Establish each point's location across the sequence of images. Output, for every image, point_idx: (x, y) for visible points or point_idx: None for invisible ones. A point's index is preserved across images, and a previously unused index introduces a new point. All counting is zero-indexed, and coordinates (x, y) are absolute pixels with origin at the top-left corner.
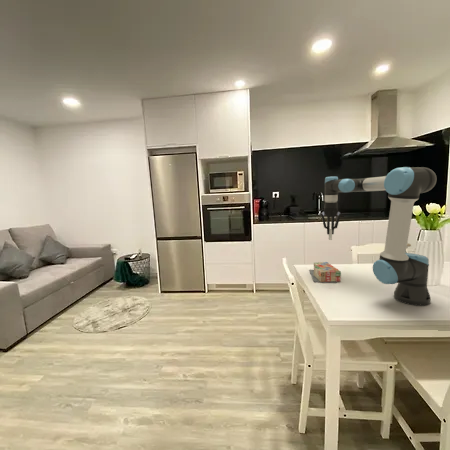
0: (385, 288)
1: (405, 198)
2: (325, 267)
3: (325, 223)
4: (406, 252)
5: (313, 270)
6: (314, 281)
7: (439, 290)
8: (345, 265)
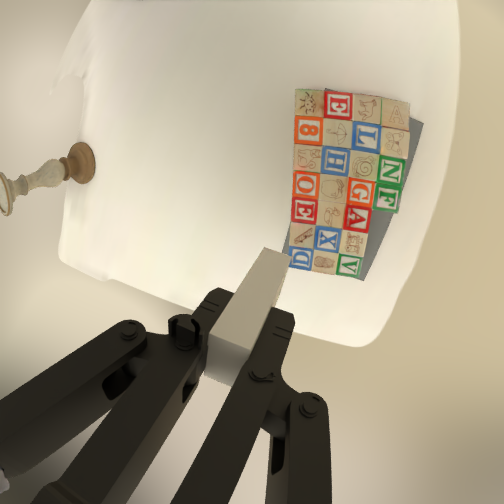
0: (170, 31)
1: None
2: (346, 174)
3: (293, 482)
4: (19, 176)
5: None
6: (420, 122)
7: (71, 48)
8: (192, 293)
